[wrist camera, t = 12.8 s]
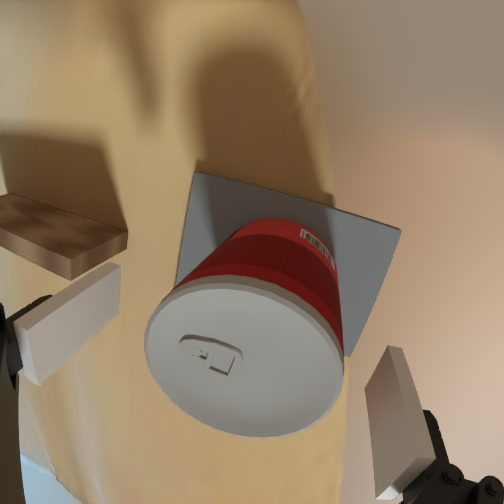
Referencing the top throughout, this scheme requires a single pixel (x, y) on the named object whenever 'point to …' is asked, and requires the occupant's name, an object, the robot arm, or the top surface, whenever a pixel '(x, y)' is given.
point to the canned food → (253, 333)
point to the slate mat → (306, 214)
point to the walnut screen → (56, 237)
